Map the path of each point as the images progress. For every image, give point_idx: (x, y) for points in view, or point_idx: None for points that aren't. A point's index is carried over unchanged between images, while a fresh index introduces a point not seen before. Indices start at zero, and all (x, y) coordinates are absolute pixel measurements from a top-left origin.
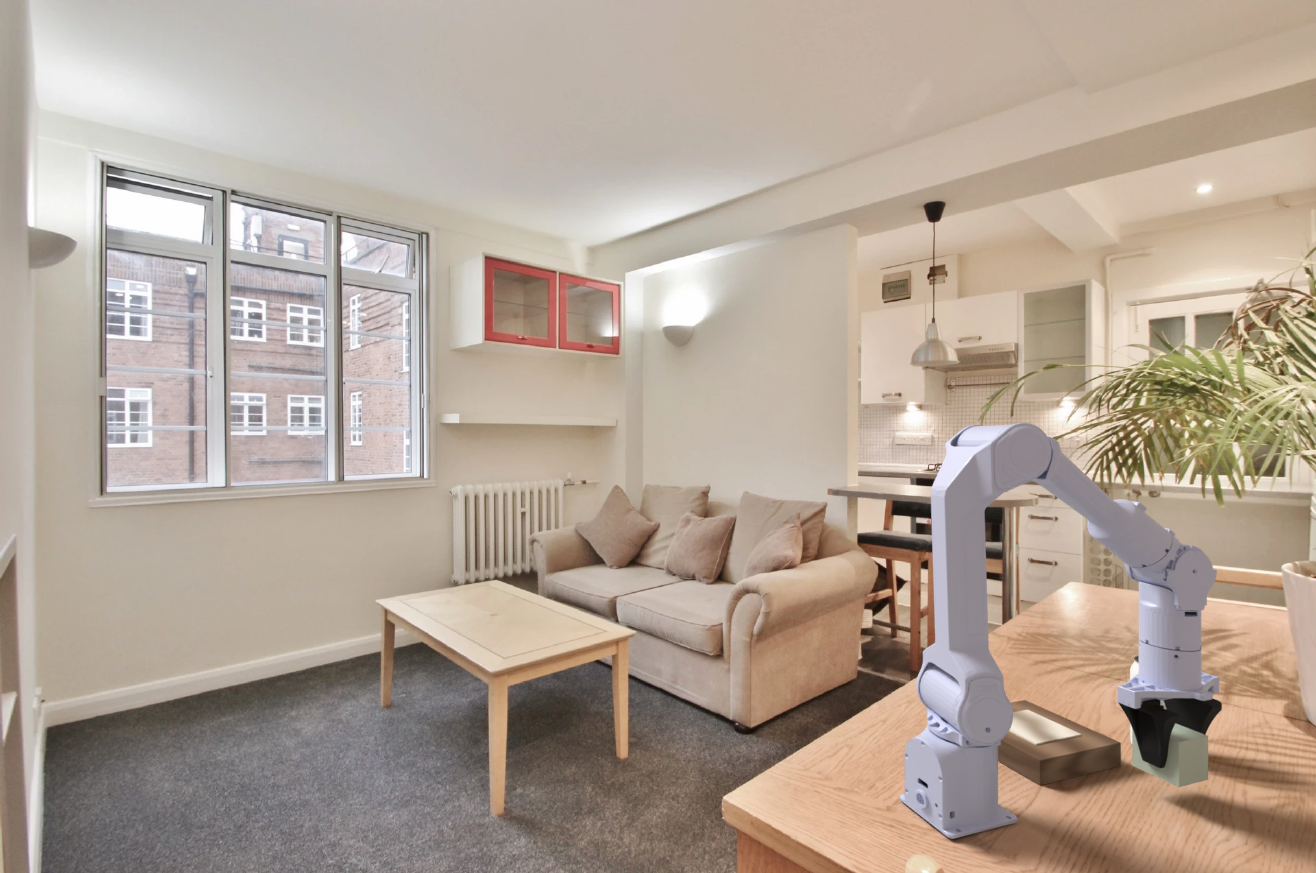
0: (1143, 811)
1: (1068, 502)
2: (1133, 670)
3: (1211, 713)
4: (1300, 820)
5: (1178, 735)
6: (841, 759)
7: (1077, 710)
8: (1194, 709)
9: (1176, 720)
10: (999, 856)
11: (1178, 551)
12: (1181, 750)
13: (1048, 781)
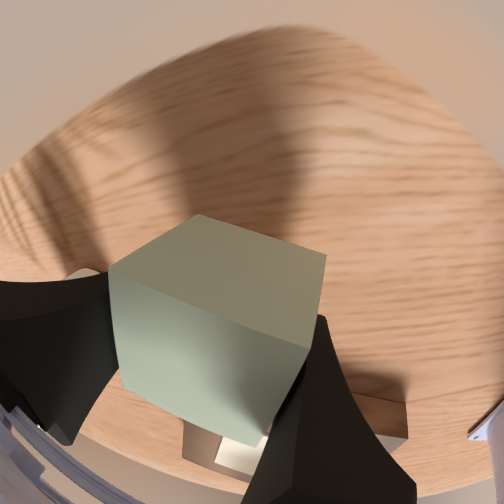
0: (377, 282)
1: None
2: (39, 427)
3: (17, 305)
4: (135, 84)
5: (215, 355)
6: (461, 479)
7: (106, 388)
8: (46, 361)
9: (305, 462)
10: None
11: None
12: (297, 315)
13: (387, 403)
